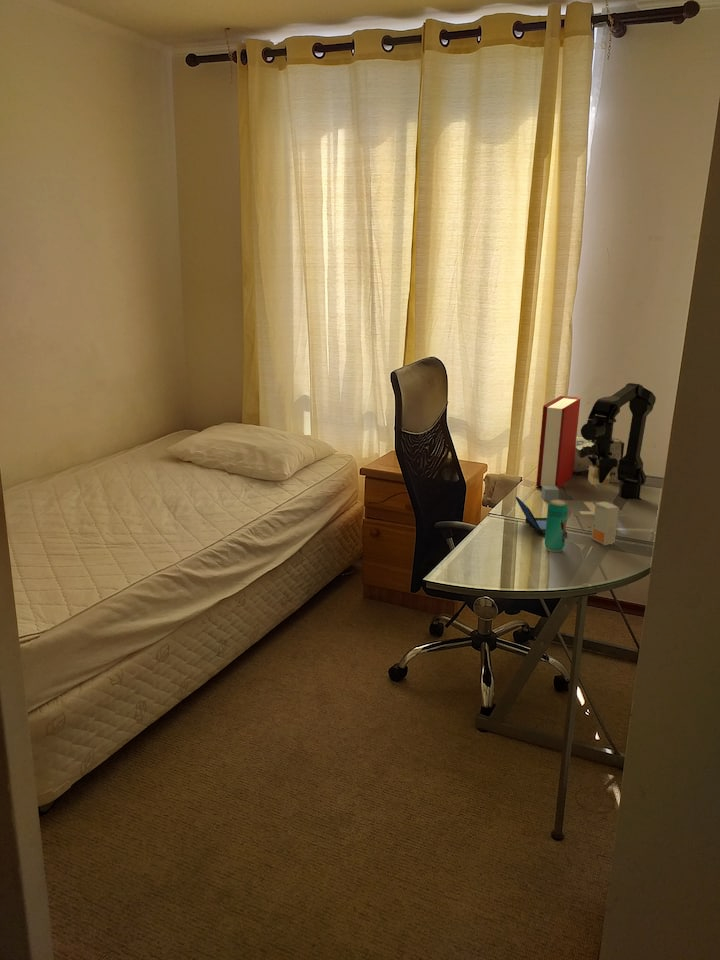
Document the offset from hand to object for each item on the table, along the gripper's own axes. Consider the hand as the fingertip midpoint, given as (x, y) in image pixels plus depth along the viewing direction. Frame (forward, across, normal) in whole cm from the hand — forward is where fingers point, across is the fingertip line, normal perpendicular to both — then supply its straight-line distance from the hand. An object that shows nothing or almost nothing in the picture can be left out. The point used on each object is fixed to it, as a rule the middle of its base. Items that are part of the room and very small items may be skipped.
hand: (598, 480), depth 256 cm
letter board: (+11, -1, 0) cm, 11 cm away
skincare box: (+11, +31, -6) cm, 33 cm away
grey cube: (+11, -11, -13) cm, 21 cm away
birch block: (+1, 0, 0) cm, 1 cm away
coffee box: (+11, -42, +17) cm, 47 cm away
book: (+11, -38, -5) cm, 40 cm away
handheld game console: (+12, +20, -23) cm, 33 cm away
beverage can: (+11, +39, -23) cm, 47 cm away
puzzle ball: (+11, -54, +7) cm, 56 cm away
